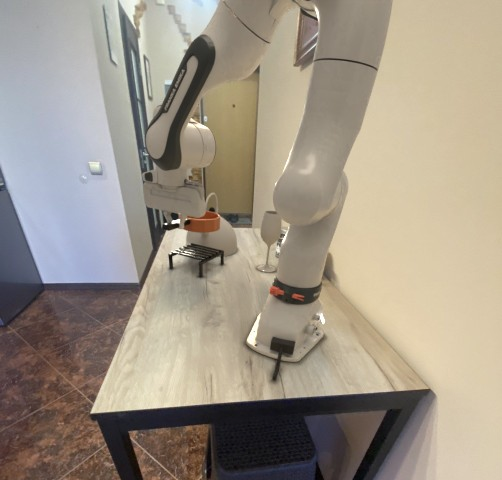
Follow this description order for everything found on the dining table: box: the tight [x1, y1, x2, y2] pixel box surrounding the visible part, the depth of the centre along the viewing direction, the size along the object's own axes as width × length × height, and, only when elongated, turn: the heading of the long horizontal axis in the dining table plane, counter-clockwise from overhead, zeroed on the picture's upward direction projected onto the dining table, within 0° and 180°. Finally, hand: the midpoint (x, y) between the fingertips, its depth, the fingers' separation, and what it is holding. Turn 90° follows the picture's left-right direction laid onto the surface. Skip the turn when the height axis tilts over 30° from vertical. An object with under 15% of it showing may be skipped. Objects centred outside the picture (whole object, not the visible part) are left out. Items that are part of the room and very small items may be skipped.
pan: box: [162, 210, 221, 233], centre depth 95 cm, size 25×14×4 cm, turn 155°
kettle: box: [185, 192, 238, 258], centre depth 121 cm, size 25×23×23 cm
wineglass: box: [256, 210, 282, 273], centre depth 107 cm, size 8×8×21 cm
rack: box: [167, 243, 225, 278], centre depth 107 cm, size 16×14×6 cm
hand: (175, 227), depth 89 cm, fingers closed on pan, 2 cm apart
